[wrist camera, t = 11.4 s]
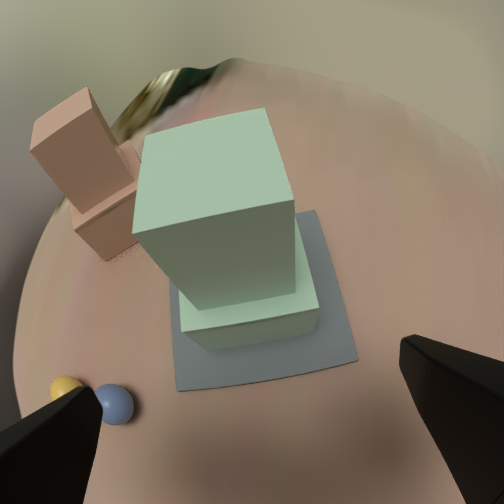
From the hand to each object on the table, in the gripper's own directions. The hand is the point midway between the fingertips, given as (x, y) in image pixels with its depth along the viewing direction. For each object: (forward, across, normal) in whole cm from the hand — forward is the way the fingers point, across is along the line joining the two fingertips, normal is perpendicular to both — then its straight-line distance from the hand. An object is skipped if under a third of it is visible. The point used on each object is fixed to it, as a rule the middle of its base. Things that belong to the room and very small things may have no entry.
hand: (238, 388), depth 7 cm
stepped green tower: (+13, 0, +3) cm, 13 cm away
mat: (+14, 0, +3) cm, 14 cm away
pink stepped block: (+21, +10, -4) cm, 24 cm away
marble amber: (+7, +15, +5) cm, 18 cm away
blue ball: (+7, +11, +6) cm, 14 cm away
